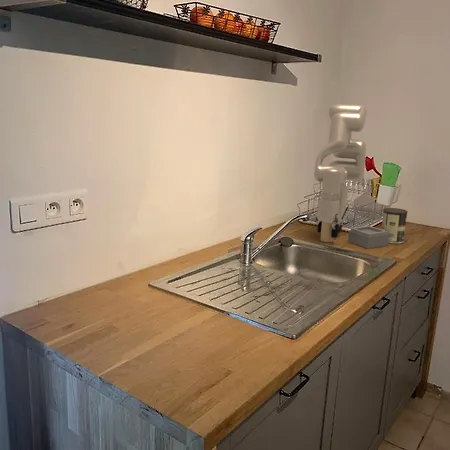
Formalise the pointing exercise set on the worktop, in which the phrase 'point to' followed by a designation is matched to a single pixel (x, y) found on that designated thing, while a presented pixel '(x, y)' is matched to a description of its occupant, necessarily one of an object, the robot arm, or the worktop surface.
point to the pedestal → (368, 237)
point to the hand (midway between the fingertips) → (327, 234)
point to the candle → (326, 232)
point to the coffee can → (394, 224)
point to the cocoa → (342, 219)
